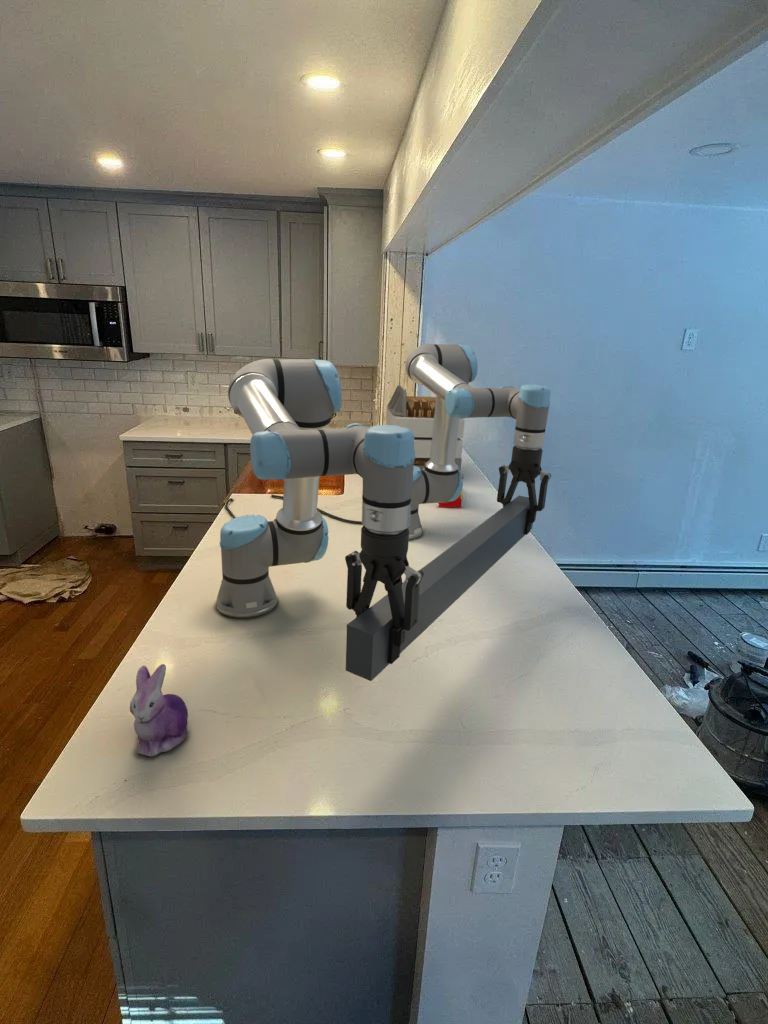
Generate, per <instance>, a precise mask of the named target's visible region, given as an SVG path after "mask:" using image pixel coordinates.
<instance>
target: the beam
mask: <svg viewBox="0 0 768 1024" xmlns="http://www.w3.org/2000/svg"><path fill="white" fill-rule="evenodd" d="M528 510H530V504H529V496H524V495H518V496H516V497H515V498H514V499H511V502H510V503H508V504H507V505H506V506H504V507H503V506H502V508H500V509H499V510H498V511H496V512H495V513H493V514H492V515H491V516H490V517H489V518H487V519H486V520H484V521H483V522H482V523H480V524H479V525H478V526H476V527H475V528H474V529H472V530H471V531H470V532H468V533H466V535H465V536H463V537H462V538H459V540H458V541H456V542H455V543H453V544H452V545H451V546H450V547H448V548H447V549H446V550H444V551H443V552H442V553H440V554H439V555H438V556H436V557H435V558H434V559H432V560H431V561H429V562H427V564H425V566H423V567H422V568H420V569H419V570H421V571H423V573H424V576H423V578H422V580H421V582H420V589H419V606H418V622H417V624H416V625H415V626H414V627H412V628H411V629H410V630H409V631H407V630H406V634H405V642H404V643H403V644H402V645H401V646H400V654H402V653H403V652H404V651H405V650H406V649H407V648H408V647H409V646H410V645H411V644H412V643H413V642H414V641H416V639H417V638H419V637H420V636H421V635H422V634H423V633H424V632H425V631H426V630H427V629H428V628H429V627H430V626H431V625H432V624H434V622H435V621H437V620H438V618H439V617H441V616H442V614H444V613H445V612H446V611H447V610H448V609H449V608H450V607H451V606H452V605H453V604H454V603H455V602H456V601H457V600H459V599H460V598H461V596H463V595H464V594H465V593H466V592H467V591H468V590H469V589H471V587H473V585H475V583H477V581H479V580H480V579H481V578H482V576H484V575H485V574H486V573H487V572H488V571H489V570H490V569H491V568H492V567H493V566H494V565H495V564H496V563H498V561H500V559H502V558H503V557H504V556H505V555H506V554H508V552H510V550H511V549H512V548H513V547H514V546H516V545H517V544H518V542H520V541H521V539H523V538H524V537H525V536H526V535H525V534H524V531H525V523H526V516H527V511H528ZM533 524H534V523H531V528H530V531H531V530H532V529H533ZM406 585H407V583H406V582H405V580H404V581H402V592H403V598H404V604H405V590H406ZM392 626H393V620H392V614H391V609H390V603H389V598H388V593H387V594H386V595H385V596H383V597H381V599H379V600H378V601H376V602H375V603H374V604H372V605H370V607H369V608H368V609H367V610H366V611H364V612H363V613H362V614H360V615H359V616H358V617H355V618H354V619H352V620H351V621H350V622H348V623H347V624H346V637H345V639H346V641H345V672H348V673H350V674H353V675H355V676H356V677H357V676H358V677H360V678H362V679H364V680H366V681H369V682H372V681H373V680H374V679H375V678H376V677H377V676H378V675H379V674H381V673H382V672H383V671H384V670H385V669H386V667H388V666H389V665H390V664H389V663H388V645H389V629H390V628H391V627H392Z"/></svg>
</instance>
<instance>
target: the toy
mask: <svg viewBox="0 0 768 1024" xmlns="http://www.w3.org/2000/svg"><path fill="white" fill-rule="evenodd" d="M462 476H463V478H462V480H463V481H464V474H463V473H462ZM463 490H464V487H463V488H462V491H461V494H460V496H459V497H458V498H457V499H456V500H454V501H450V502H446V503H442V502H441V503H438V508H462V502H463V501H462V500H463Z"/></svg>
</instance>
